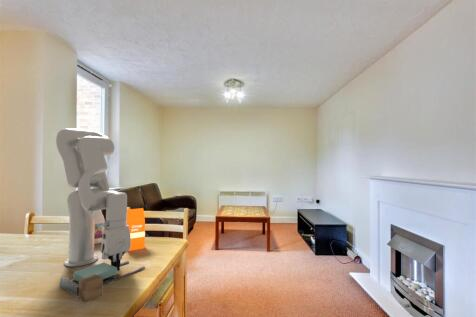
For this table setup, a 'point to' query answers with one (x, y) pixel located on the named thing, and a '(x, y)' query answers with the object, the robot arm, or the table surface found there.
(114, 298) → the table surface
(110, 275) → the sage green box
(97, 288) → the block
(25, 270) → the table surface
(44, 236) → the table surface
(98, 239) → the milk bottle
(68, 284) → the track
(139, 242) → the orange juice
